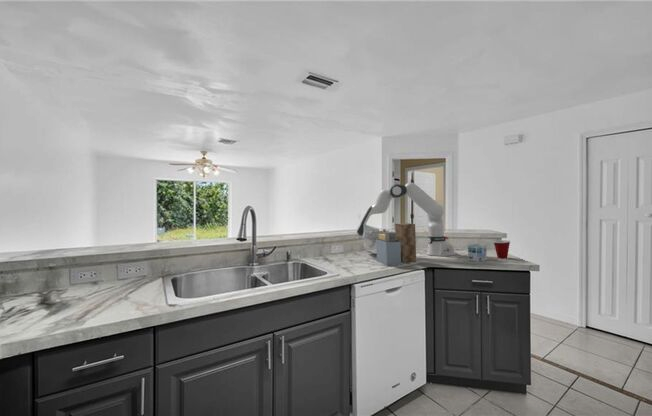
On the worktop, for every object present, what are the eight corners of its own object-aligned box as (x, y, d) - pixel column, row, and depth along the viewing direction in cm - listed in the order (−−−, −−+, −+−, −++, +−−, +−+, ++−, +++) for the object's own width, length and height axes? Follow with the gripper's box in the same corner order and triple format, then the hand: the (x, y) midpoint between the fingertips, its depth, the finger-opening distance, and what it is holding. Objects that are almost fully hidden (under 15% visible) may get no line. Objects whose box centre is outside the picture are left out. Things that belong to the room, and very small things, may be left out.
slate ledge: (389, 259, 205) (389, 237, 205) (401, 264, 188) (400, 240, 187) (376, 260, 203) (376, 238, 203) (386, 265, 186) (386, 241, 186)
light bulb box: (477, 262, 188) (476, 245, 188) (467, 260, 194) (467, 244, 194) (487, 260, 193) (486, 244, 193) (477, 258, 199) (477, 243, 199)
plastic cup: (491, 256, 207) (491, 239, 206) (508, 256, 203) (508, 239, 203) (494, 259, 196) (494, 241, 196) (513, 259, 193) (512, 241, 193)
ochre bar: (384, 238, 208) (384, 230, 208) (396, 241, 188) (395, 232, 188) (377, 238, 207) (377, 230, 207) (389, 242, 187) (388, 233, 187)
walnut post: (409, 259, 204) (408, 223, 204) (416, 262, 194) (415, 224, 194) (396, 260, 202) (395, 223, 202) (402, 263, 192) (401, 224, 192)
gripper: (360, 235, 222) (364, 227, 211) (384, 233, 226) (390, 226, 215) (361, 242, 219) (366, 234, 208) (386, 241, 223) (392, 233, 211)
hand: (378, 230), depth 211 cm, fingers open, 8 cm apart
